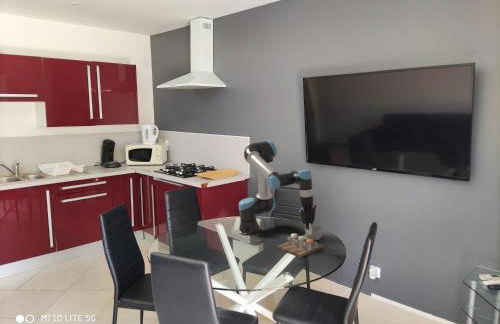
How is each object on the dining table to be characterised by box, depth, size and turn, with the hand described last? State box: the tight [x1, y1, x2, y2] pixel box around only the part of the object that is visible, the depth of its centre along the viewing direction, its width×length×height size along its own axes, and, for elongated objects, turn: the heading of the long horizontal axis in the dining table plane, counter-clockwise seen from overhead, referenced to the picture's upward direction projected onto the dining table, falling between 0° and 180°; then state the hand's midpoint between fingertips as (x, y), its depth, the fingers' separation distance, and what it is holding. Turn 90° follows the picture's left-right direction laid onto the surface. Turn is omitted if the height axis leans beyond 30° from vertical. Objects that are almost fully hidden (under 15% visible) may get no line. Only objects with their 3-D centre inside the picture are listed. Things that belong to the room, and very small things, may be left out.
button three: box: [306, 238, 313, 245], centre depth 223 cm, size 4×4×3 cm
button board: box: [277, 235, 324, 258], centre depth 228 cm, size 20×19×5 cm
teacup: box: [304, 223, 323, 242], centre depth 242 cm, size 14×11×8 cm
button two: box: [298, 235, 306, 242], centre depth 229 cm, size 4×4×3 cm
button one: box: [290, 233, 298, 239], centre depth 234 cm, size 4×4×3 cm
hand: (309, 234), depth 222 cm, fingers closed
